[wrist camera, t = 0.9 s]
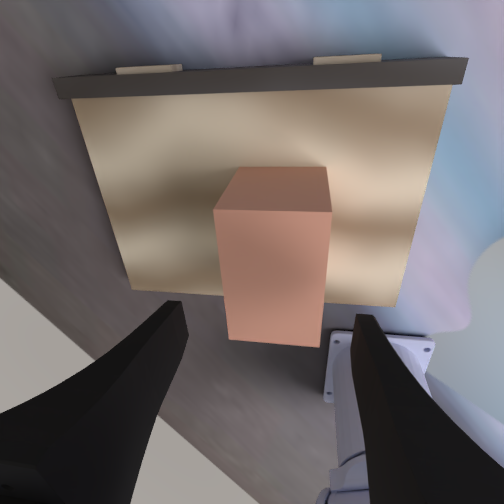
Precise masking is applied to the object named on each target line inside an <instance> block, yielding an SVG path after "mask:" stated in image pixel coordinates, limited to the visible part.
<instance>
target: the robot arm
mask: <svg viewBox="0 0 504 504" xmlns="http://www.w3.org/2000/svg"><path fill="white" fill-rule="evenodd" d="M188 336H189V334H188V330H187V325H186V320H185V316H184V311H183V307H182V302H181V301H169V300H168V301H167V302H166V303H164V304H163V305H162V306H161V307H160V308H159V309H158V310H157V311H155V312H154V313H153V314H152V315H151V316H150V317H149V318H148V319H147V320H146V321H144V322H143V323H142V324H141V325H140V326H139V327H138V328H137V329H135V330H134V331H133V332H132V333H131V334H130V335H128V336H127V337H126V338H125V339H123V340H122V341H121V342H120V343H119V344H117V345H116V346H115V347H114V348H112V349H111V350H110V351H108V352H107V353H106V354H104V355H103V356H102V357H100V358H99V359H97V360H96V361H95V362H93V363H92V364H90V365H89V366H87V367H86V368H85V369H83V370H81V371H80V372H78V373H76V374H75V375H73V376H71V377H70V378H68V379H66V380H65V381H63V382H62V383H60V384H58V385H57V386H55V387H53V388H51V389H49V390H47V391H46V392H44V393H42V394H40V395H38V396H36V397H34V398H32V399H30V400H28V401H26V402H24V403H22V404H20V405H18V406H16V407H14V408H11V409H9V410H7V411H5V412H3V413H0V504H130V502H131V499H132V495H133V491H134V488H135V484H136V481H137V477H138V474H139V470H140V467H141V463H142V460H143V457H144V454H145V450H146V447H147V444H148V441H149V438H150V435H151V432H152V429H153V426H154V423H155V420H156V417H157V414H158V412H159V409H160V407H161V404H162V402H163V400H164V398H165V395H166V393H167V391H168V389H169V386H170V384H171V382H172V380H173V377H174V375H175V373H176V371H177V368H178V366H179V364H180V361H181V359H182V356H183V353H184V350H185V347H186V343H187V340H188ZM335 340H338V341H335ZM434 348H435V342H434V340H433V339H432V338H425V337H413V336H400V335H388V334H384V332H383V331H382V329H381V327H380V326H379V324H378V322H377V320H376V318H375V317H374V316H373V315H367V314H356V318H355V323H354V329H353V332H350V331H333V332H332V333H331V336H330V344H329V352H328V361H327V369H326V377H325V386H324V394H323V399H324V401H326V402H329V403H334V407H335V422H336V438H337V453H338V466H339V468H336V469H331V470H330V471H329V472H330V488H325V489H323V490H322V491H321V492H320V493H319V496H318V498H317V500H316V504H504V468H503V467H501V466H500V465H499V464H498V463H497V462H496V461H495V460H494V459H492V458H491V457H490V456H489V455H488V454H487V453H486V452H484V451H483V450H482V449H481V448H480V447H479V446H478V445H477V444H476V443H475V442H474V441H473V440H472V439H471V438H470V437H469V436H468V435H467V434H466V433H465V432H464V431H463V430H462V429H460V428H459V427H458V426H457V425H456V424H455V423H454V422H453V421H452V420H451V418H450V417H449V416H448V415H447V414H446V413H445V412H444V411H443V410H442V409H441V408H440V407H439V406H438V404H437V403H436V402H435V401H434V400H433V399H432V396H431V393H430V391H429V388H428V385H427V382H426V379H425V376H424V374H425V371H426V369H427V366H428V364H429V361H430V358H431V355H432V353H433V350H434Z"/></svg>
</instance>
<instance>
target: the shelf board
mask: <svg viewBox="0 0 504 504" xmlns="http://www.w3.org/2000/svg"><path fill="white" fill-rule="evenodd" d="M381 56H382V54H360V55H341V56H323V57H313V64H294V65H274V66H254V67H234V68H214V69H194V70H183V69H182V64H172V65H153V66H134V67H122V68H116V72H117V73H114V74H94V75H78V76H68V77H59V78H52V80H53V83H54V86H55V89H56V92H57V95H58V98H59V99H71V100H72V103H73V106H74V109H75V112H76V115H77V118H78V121H79V125H80V128H81V131H82V134H83V137H84V140H85V143H86V147H87V150H88V153H89V156H90V159H91V162H92V165H93V168H94V172H95V175H96V178H97V181H98V184H99V187H100V190H101V194H102V197H103V200H104V203H105V206H106V209H107V212H108V215H109V219H110V222H111V225H112V228H113V231H114V234H115V237H116V241H117V244H118V247H119V250H120V253H121V256H122V259H123V262H124V266H125V269H126V272H127V275H128V278H129V281H130V284H131V288H132V290H145V291H160V292H175V293H190V294H205V295H220V296H224V294H223V286H222V278H221V270H220V262H219V254H218V246H217V237H216V229H215V221H214V213H213V209H214V207H215V206H216V204H217V202H218V201H219V199H220V197H221V196H222V194H223V193H224V191H225V189H226V188H227V186H228V184H229V183H230V181H231V180H232V178H233V176H234V175H235V173H236V171H237V170H238V168H239V167H326V168H327V175H328V183H329V190H330V198H331V205H332V222H331V232H330V243H329V253H328V263H327V274H326V284H325V294H324V302H325V303H340V304H355V305H370V306H385V307H395V306H396V302H397V298H398V295H399V291H400V287H401V283H402V279H403V275H404V271H405V267H406V263H407V260H408V256H409V252H410V248H411V244H412V240H413V236H414V232H415V229H416V225H417V221H418V217H419V213H420V209H421V205H422V201H423V198H424V194H425V190H426V186H427V182H428V178H429V174H430V170H431V166H432V163H433V159H434V155H435V151H436V147H437V143H438V139H439V135H440V132H441V128H442V124H443V120H444V116H445V112H446V108H447V104H448V100H449V97H450V93H451V89H452V85H457V84H462V81H463V77H464V74H465V70H466V66H467V63H468V59H469V58H462V57H434V58H414V59H394V60H381Z"/></svg>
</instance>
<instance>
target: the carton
mask: <svg viewBox="0 0 504 504" xmlns="http://www.w3.org/2000/svg"><path fill="white" fill-rule="evenodd" d="M213 213H214V221H215V229H216V237H217V246H218V254H219V262H220V270H221V278H222V286H223V294H224V302H225V310H226V318H227V327H228V335H229V339H230V340H241V341H252V342H264V343H275V344H286V345H297V346H309V347H319V346H320V336H321V326H322V315H323V305H324V294H325V284H326V274H327V263H328V253H329V243H330V232H331V222H332V205H331V198H330V190H329V183H328V175H327V168H326V167H239V168H238V170H237V171H236V173H235V175H234V176H233V178H232V180H231V181H230V183H229V184H228V186H227V188H226V189H225V191H224V193H223V194H222V196H221V197H220V199H219V201H218V202H217V204H216V206H215V207H214V209H213Z"/></svg>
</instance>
